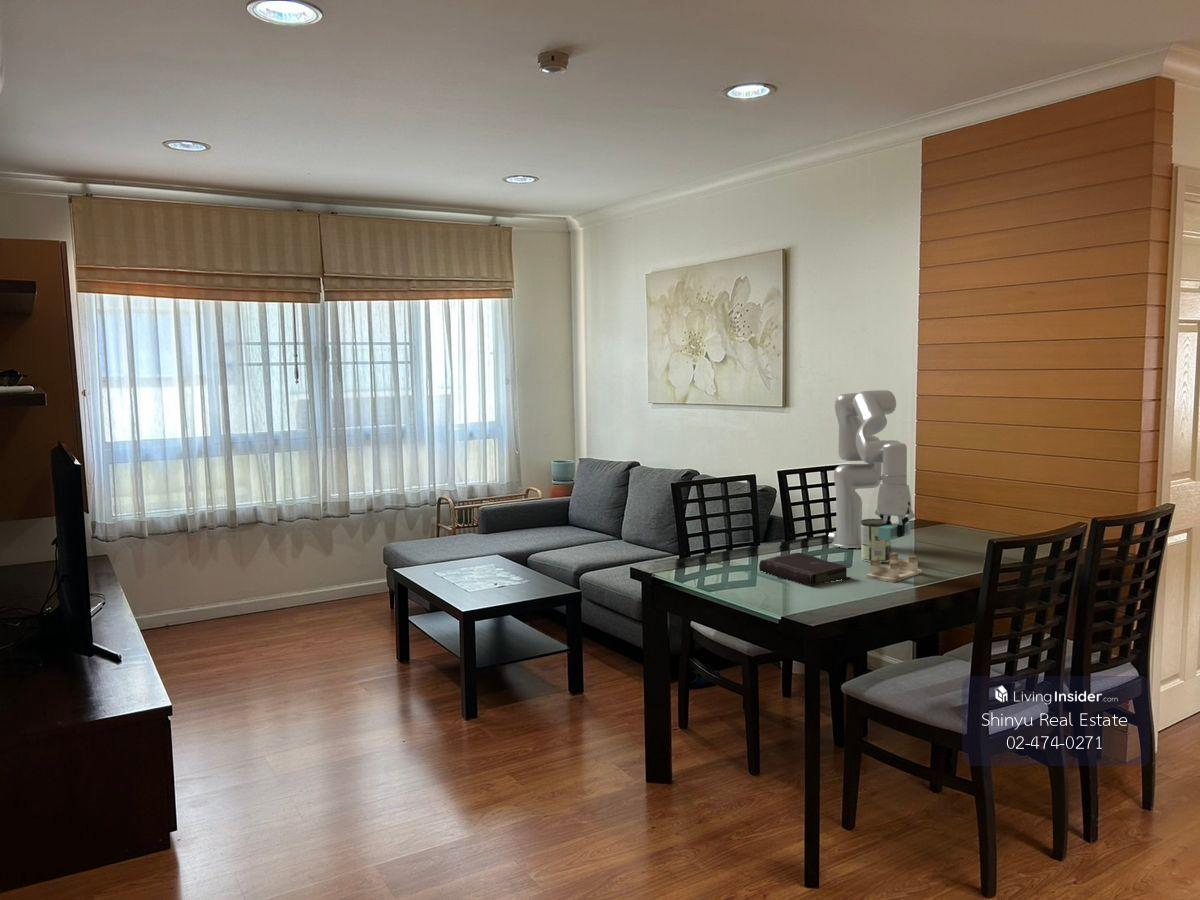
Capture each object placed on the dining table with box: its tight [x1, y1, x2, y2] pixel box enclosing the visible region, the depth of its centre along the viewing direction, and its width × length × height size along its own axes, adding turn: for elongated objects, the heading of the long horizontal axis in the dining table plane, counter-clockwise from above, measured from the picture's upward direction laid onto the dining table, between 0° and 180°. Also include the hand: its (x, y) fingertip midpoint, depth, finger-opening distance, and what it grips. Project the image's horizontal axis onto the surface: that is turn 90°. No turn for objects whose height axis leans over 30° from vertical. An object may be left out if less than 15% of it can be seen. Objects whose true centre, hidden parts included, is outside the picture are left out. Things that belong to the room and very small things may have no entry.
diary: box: [758, 552, 852, 587], centre depth 288 cm, size 19×25×5 cm
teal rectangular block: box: [878, 521, 911, 541], centre depth 283 cm, size 4×14×4 cm, turn 132°
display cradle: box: [865, 552, 923, 584], centre depth 284 cm, size 10×18×6 cm, turn 132°
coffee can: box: [860, 518, 892, 564], centre depth 306 cm, size 10×10×14 cm
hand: (894, 535), depth 283 cm, fingers closed on teal rectangular block, 3 cm apart
